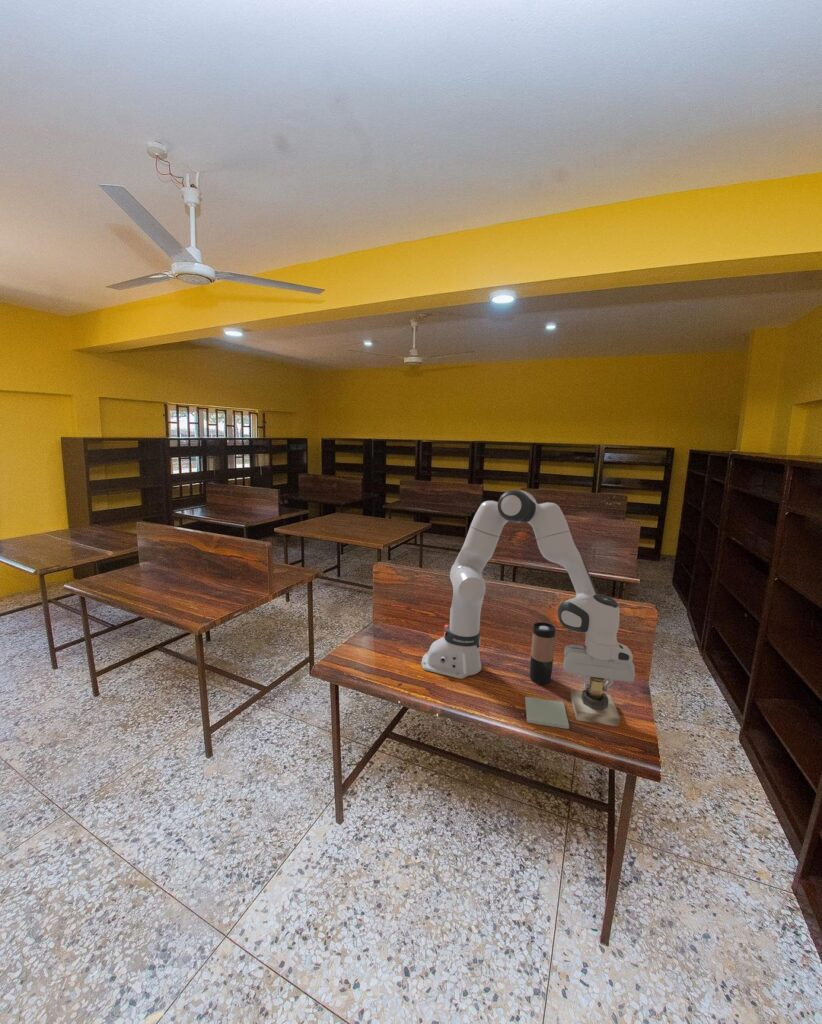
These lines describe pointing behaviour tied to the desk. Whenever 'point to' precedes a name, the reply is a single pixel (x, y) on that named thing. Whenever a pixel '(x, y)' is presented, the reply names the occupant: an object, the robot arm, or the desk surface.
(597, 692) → the brass peg
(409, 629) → the desk surface
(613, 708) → the beige base with ring
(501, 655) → the desk surface
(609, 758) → the desk surface
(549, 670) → the travel mug
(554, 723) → the sage pad
